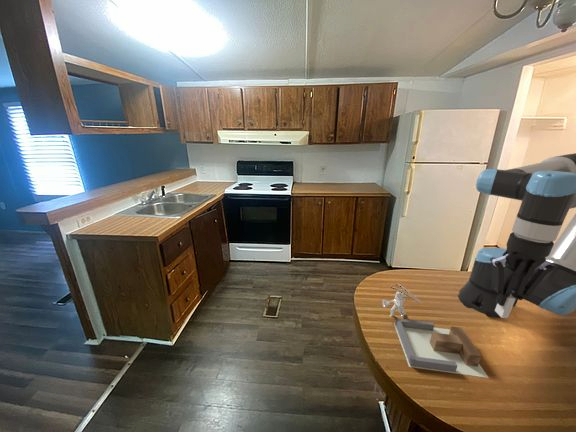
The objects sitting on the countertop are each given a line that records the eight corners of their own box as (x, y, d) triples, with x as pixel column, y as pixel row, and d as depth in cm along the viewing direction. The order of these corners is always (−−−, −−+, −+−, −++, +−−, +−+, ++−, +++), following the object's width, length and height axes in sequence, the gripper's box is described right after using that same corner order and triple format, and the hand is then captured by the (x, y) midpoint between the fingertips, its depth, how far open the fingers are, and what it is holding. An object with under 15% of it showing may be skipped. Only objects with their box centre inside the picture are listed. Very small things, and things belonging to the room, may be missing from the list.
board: (456, 332, 76) (458, 324, 75) (487, 380, 62) (491, 371, 60) (393, 325, 79) (394, 317, 78) (408, 369, 65) (410, 360, 63)
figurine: (408, 320, 82) (414, 292, 78) (387, 326, 79) (393, 298, 75) (398, 310, 86) (404, 284, 82) (378, 316, 83) (383, 289, 79)
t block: (458, 337, 73) (461, 327, 72) (477, 366, 64) (481, 356, 63) (425, 333, 75) (427, 323, 74) (438, 361, 66) (442, 351, 64)
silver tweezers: (389, 287, 100) (390, 284, 99) (396, 284, 102) (397, 281, 101) (428, 316, 86) (429, 312, 85) (435, 312, 88) (437, 308, 87)
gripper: (549, 232, 58) (517, 307, 66) (491, 228, 60) (467, 302, 68) (579, 245, 51) (540, 328, 59) (513, 241, 53) (483, 321, 61)
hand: (501, 314), depth 63 cm, fingers closed
